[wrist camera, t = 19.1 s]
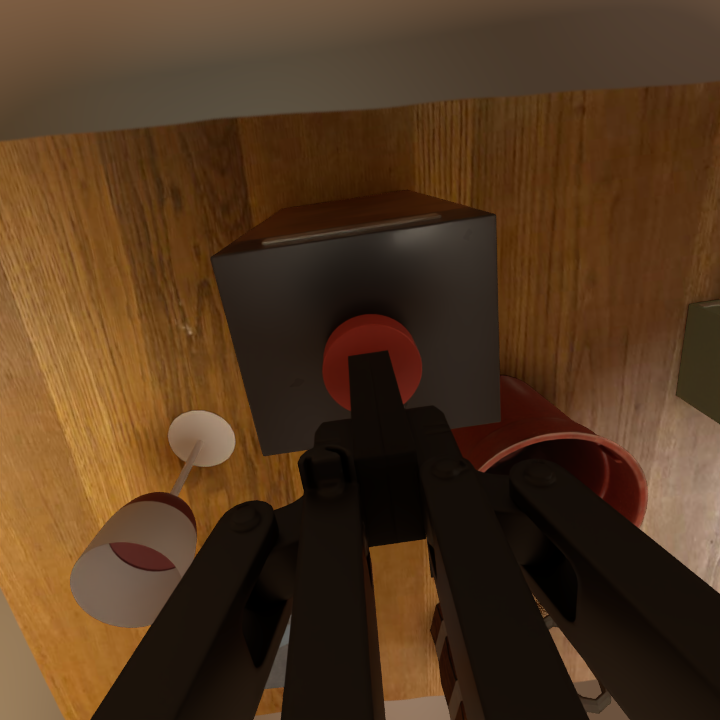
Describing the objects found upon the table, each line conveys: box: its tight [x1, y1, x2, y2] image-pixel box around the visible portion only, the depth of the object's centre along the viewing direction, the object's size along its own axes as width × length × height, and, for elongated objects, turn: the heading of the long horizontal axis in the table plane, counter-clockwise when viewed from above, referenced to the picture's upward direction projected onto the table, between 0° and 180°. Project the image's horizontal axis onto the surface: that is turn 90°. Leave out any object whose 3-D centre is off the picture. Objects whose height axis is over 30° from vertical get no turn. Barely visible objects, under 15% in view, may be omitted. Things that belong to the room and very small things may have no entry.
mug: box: [430, 603, 611, 720], centre depth 58 cm, size 20×14×15 cm
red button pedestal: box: [211, 190, 501, 456], centre depth 33 cm, size 12×10×26 cm
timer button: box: [322, 314, 422, 411], centre depth 19 cm, size 4×4×1 cm
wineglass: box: [70, 410, 235, 628], centre depth 43 cm, size 8×9×20 cm
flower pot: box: [451, 375, 648, 528], centre depth 45 cm, size 16×16×16 cm
